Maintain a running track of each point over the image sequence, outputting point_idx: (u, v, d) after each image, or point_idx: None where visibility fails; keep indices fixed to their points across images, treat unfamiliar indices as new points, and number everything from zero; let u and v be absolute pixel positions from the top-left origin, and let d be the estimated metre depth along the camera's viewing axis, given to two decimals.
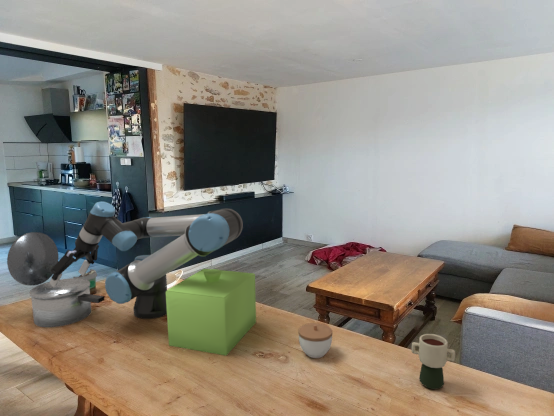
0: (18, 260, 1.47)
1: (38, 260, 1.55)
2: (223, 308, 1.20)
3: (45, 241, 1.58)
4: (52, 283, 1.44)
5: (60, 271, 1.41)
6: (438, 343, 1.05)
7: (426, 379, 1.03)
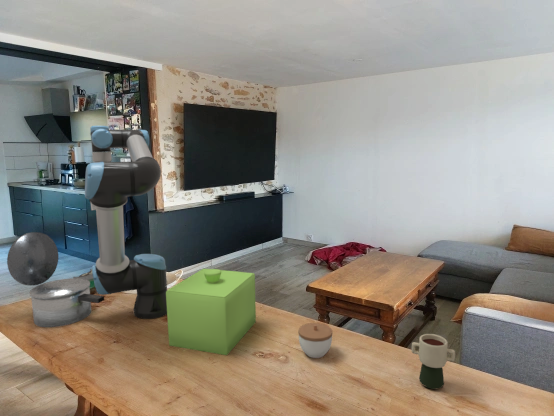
0: (18, 260, 1.47)
1: (38, 260, 1.55)
2: (223, 308, 1.20)
3: (45, 241, 1.58)
4: None
5: None
6: (438, 343, 1.05)
7: (426, 379, 1.03)
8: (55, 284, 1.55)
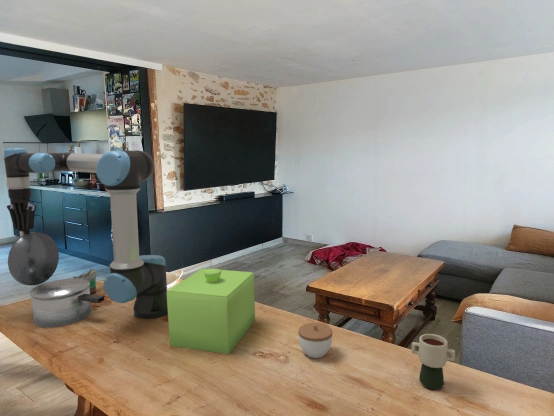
0: (18, 260, 1.47)
1: (39, 260, 1.55)
2: (225, 307, 1.21)
3: (46, 241, 1.58)
4: None
5: (17, 227, 1.53)
6: (438, 343, 1.05)
7: (426, 379, 1.03)
8: (55, 284, 1.55)
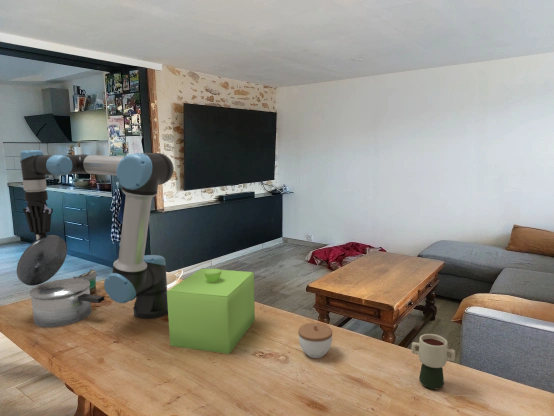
0: (28, 262, 1.45)
1: (46, 262, 1.54)
2: (226, 307, 1.21)
3: (59, 244, 1.56)
4: None
5: (34, 230, 1.51)
6: (438, 343, 1.05)
7: (426, 379, 1.03)
8: (55, 284, 1.55)
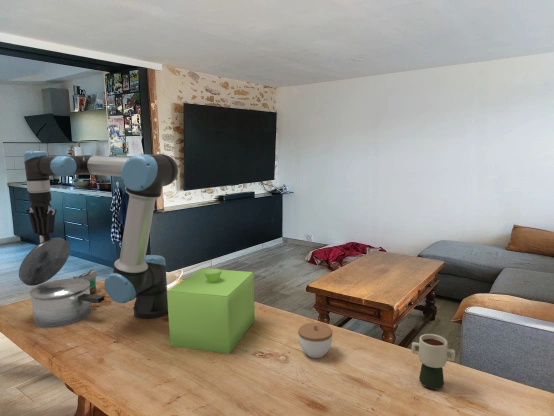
0: (31, 264, 1.45)
1: (49, 263, 1.54)
2: (226, 307, 1.21)
3: (63, 246, 1.56)
4: None
5: None
6: (438, 343, 1.05)
7: (426, 379, 1.03)
8: (55, 284, 1.55)
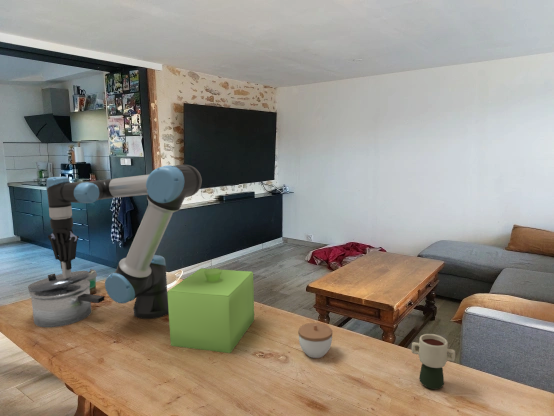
0: None
1: None
2: (227, 306, 1.21)
3: None
4: None
5: (59, 257, 1.48)
6: (438, 343, 1.05)
7: (426, 379, 1.03)
8: None
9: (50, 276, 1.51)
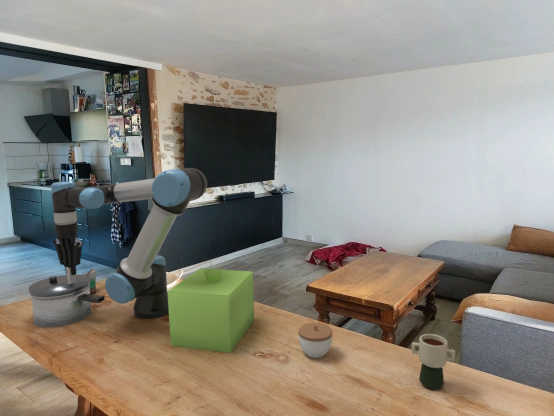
0: None
1: None
2: (227, 306, 1.21)
3: None
4: None
5: (64, 263, 1.48)
6: (438, 343, 1.05)
7: (426, 379, 1.03)
8: None
9: (51, 279, 1.51)
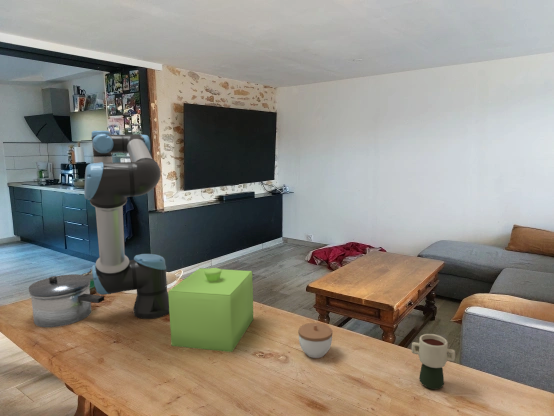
0: None
1: None
2: (229, 305, 1.22)
3: None
4: None
5: None
6: (438, 343, 1.05)
7: (426, 379, 1.03)
8: None
9: (51, 279, 1.51)
